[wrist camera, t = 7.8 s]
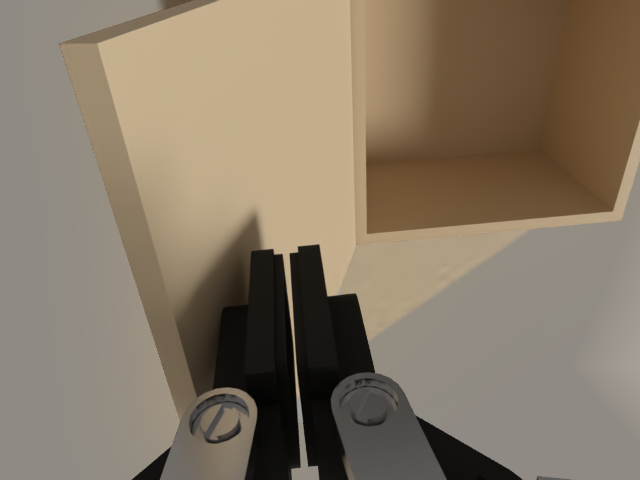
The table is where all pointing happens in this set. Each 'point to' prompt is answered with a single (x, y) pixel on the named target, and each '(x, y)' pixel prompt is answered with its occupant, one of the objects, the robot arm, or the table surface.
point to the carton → (492, 114)
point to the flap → (220, 156)
